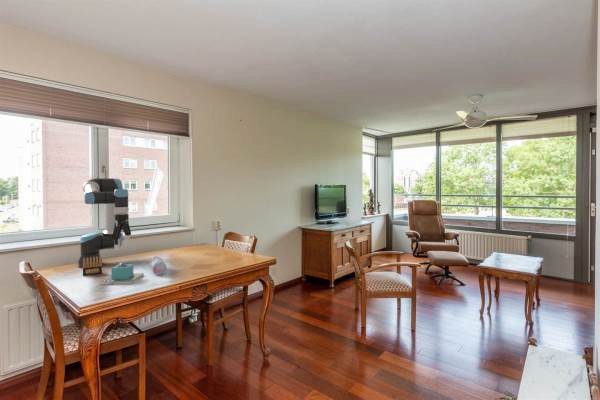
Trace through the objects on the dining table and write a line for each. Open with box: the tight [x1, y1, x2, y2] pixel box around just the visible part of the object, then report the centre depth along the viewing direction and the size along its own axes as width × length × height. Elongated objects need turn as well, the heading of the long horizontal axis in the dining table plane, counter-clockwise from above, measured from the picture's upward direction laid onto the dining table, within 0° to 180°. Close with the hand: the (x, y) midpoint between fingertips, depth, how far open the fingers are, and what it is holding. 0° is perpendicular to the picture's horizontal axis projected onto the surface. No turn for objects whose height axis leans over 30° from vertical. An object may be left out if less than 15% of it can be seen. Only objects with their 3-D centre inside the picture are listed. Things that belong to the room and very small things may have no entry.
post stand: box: [99, 262, 144, 286], centre depth 193 cm, size 18×18×10 cm
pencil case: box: [149, 256, 168, 276], centre depth 211 cm, size 21×9×10 cm, turn 31°
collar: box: [110, 263, 134, 280], centre depth 193 cm, size 9×9×7 cm
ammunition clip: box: [82, 255, 103, 277], centre depth 204 cm, size 11×2×12 cm, turn 123°
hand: (122, 247), depth 193 cm, fingers open, 13 cm apart
